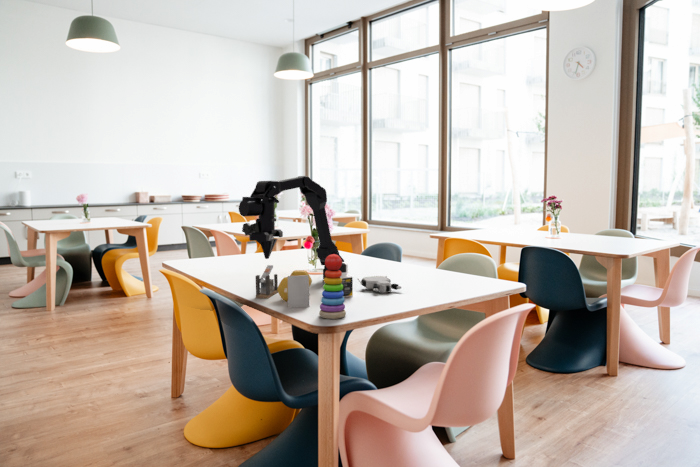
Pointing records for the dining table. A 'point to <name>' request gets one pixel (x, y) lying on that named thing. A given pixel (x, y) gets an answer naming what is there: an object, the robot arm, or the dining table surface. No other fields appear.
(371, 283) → the robot toy
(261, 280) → the grey bar
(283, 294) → the dumbbell
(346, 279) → the medicine bottle
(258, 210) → the robot arm
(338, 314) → the stacking toy
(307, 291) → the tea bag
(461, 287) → the dining table surface
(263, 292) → the grey and tan frame
